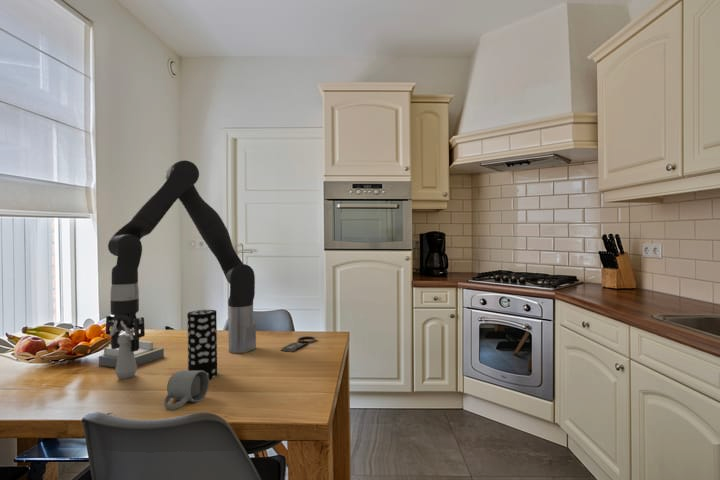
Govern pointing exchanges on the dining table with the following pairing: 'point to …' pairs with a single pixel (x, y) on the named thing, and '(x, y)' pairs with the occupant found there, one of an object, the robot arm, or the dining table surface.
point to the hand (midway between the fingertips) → (124, 349)
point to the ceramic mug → (186, 387)
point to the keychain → (298, 344)
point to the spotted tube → (202, 341)
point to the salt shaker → (125, 359)
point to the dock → (141, 356)
